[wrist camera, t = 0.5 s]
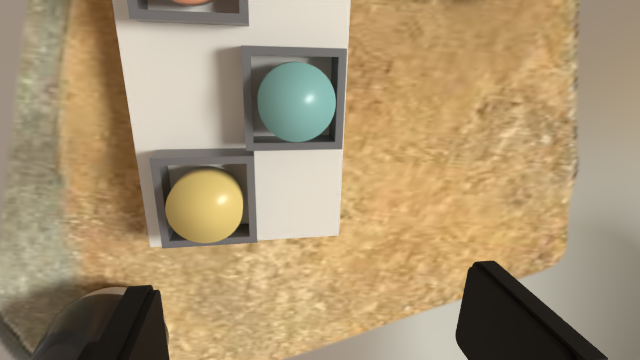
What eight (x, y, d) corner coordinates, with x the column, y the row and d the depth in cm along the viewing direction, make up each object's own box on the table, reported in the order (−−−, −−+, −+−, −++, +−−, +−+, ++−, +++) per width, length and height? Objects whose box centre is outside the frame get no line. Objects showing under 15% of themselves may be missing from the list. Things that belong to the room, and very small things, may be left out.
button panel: (111, -97, 25) (75, -134, 20) (344, -75, 28) (365, -103, 23) (158, 230, 34) (141, 262, 29) (332, 221, 37) (345, 248, 32)
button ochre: (168, 166, 28) (160, 176, 25) (241, 164, 29) (240, 174, 26) (176, 230, 29) (170, 245, 27) (245, 227, 30) (244, 241, 28)
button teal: (255, 60, 26) (256, 61, 24) (330, 62, 27) (337, 63, 25) (258, 135, 28) (258, 142, 26) (328, 134, 29) (334, 141, 27)
